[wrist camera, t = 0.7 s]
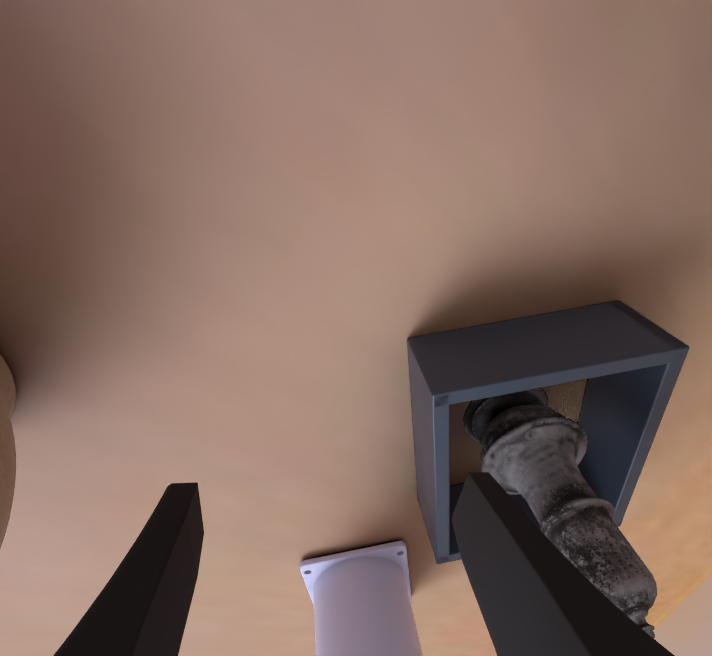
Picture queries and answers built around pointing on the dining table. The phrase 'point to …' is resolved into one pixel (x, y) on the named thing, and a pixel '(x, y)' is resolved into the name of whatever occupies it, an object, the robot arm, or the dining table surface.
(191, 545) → the robot arm
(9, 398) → the planter bowl
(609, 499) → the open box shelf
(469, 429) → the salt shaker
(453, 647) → the dining table surface
